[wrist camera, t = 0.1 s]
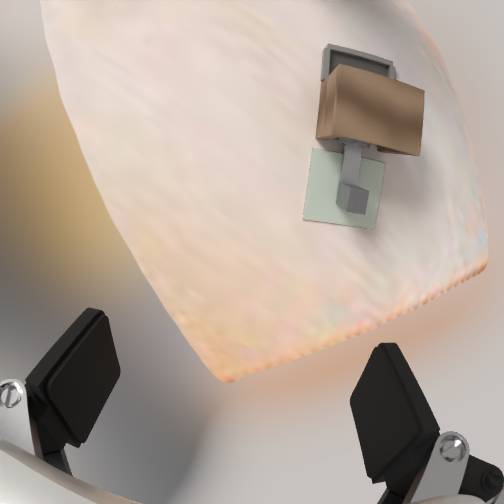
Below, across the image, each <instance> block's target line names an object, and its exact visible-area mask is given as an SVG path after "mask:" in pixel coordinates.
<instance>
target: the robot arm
mask: <svg viewBox="0 0 504 504" xmlns="http://www.w3.org/2000/svg"><path fill="white" fill-rule="evenodd" d="M119 376H120V366H119V362H118V358H117V355H116V350H115V346H114V342H113V338H112V333H111V329H110V324H109V319H108V317H107V316H106V315H105V313H104V312H103V311H102V310H98V309H94V308H87V309H86V310H85V311H84V312H83V313H82V314H81V315H80V316H79V317H78V318H77V319H76V321H75V322H74V323H73V324H72V325H71V326H70V327H69V328H68V329H67V330H66V332H65V333H64V334H63V335H62V336H61V337H60V338H59V340H58V341H57V342H56V343H55V344H54V345H53V346H52V348H51V349H50V350H49V351H48V352H47V353H46V355H45V356H44V357H43V358H42V359H41V361H40V362H39V363H38V364H37V366H36V367H35V368H34V369H33V370H32V372H31V373H30V374H29V375H28V377H27V378H26V379H25V381H26V382H27V383H26V384H25V385H23V383H21V382H20V381H18V380H16V379H7V380H4V381H2V382H0V504H141V503H138V502H135V501H132V500H129V499H126V498H123V497H120V496H117V495H115V494H112V493H109V492H107V491H104V490H102V489H99V488H97V487H95V486H92V485H90V484H88V483H86V482H84V481H81V480H79V479H77V478H75V477H73V475H72V472H71V469H70V467H69V463H68V461H67V457H66V454H65V450H64V446H65V444H66V443H68V444H70V445H72V446H75V447H77V448H79V447H80V445H81V443H84V442H85V441H86V440H87V438H88V436H89V434H90V432H91V430H92V428H93V426H94V424H95V422H96V420H97V418H98V416H99V414H100V412H101V410H102V408H103V407H104V405H105V403H106V401H107V399H108V397H109V395H110V393H111V391H112V390H113V388H114V386H115V384H116V382H117V380H118V379H119ZM350 406H351V409H352V413H353V417H354V421H355V425H356V429H357V433H358V438H359V442H360V446H361V450H362V455H363V458H364V464H365V468H366V473H367V476H368V477H369V478H371V479H372V483H373V484H375V483H380V482H384V481H385V482H386V486H387V488H386V490H385V492H384V493H383V495H382V497H381V498H380V500H379V501H378V503H377V504H504V477H503V474H502V471H501V470H500V469H499V468H498V467H496V466H494V465H492V464H489V463H487V462H485V461H483V460H480V459H478V458H476V457H474V456H471V455H469V450H470V449H469V444H468V442H467V441H466V439H465V438H464V437H463V436H462V435H461V434H459V433H457V432H453V431H450V432H445V433H443V434H441V435H440V433H439V430H440V428H439V426H438V423H437V421H436V419H435V417H434V415H433V413H432V411H431V408H430V406H429V404H428V402H427V400H426V398H425V396H424V394H423V392H422V390H421V388H420V386H419V384H418V382H417V380H416V378H415V376H414V374H413V372H412V371H411V369H410V367H409V365H408V363H407V361H406V360H405V358H404V356H403V354H402V352H401V350H400V348H399V347H398V345H397V344H396V343H380V344H379V345H378V347H375V348H374V350H373V351H372V354H371V356H370V358H369V360H368V363H367V365H366V367H365V369H364V371H363V373H362V375H361V377H360V379H359V381H358V383H357V386H356V387H355V389H354V391H353V393H352V395H351V398H350Z"/></svg>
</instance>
